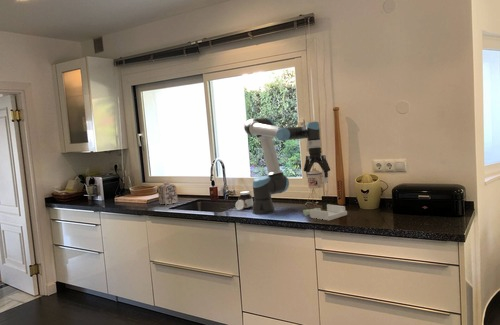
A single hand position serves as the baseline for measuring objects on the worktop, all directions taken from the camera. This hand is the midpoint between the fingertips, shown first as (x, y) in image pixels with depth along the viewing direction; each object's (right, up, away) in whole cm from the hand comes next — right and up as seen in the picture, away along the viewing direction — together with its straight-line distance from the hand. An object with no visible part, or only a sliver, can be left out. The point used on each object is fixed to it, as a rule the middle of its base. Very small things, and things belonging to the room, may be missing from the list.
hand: (317, 182), depth 234 cm
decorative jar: (-109, -22, +86) cm, 140 cm away
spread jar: (-45, -21, +41) cm, 64 cm away
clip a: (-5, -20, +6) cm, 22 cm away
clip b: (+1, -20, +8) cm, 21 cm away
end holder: (+6, -20, -1) cm, 21 cm away
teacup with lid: (0, -3, 0) cm, 3 cm away
